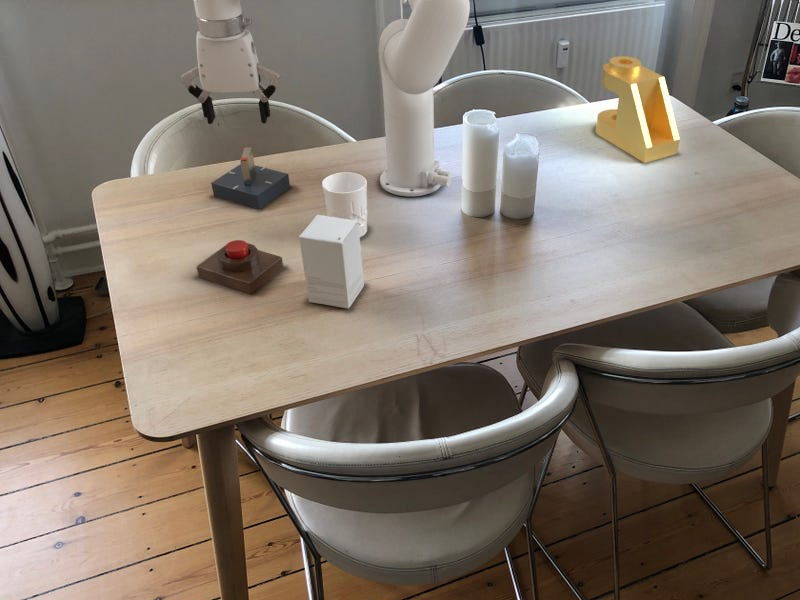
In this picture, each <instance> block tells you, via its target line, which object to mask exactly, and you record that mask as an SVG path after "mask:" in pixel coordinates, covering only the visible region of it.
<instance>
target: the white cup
mask: <svg viewBox="0 0 800 600" xmlns="http://www.w3.org/2000/svg"><path fill="white" fill-rule="evenodd" d="M321 188H322V193H323V199H324V200H323V201H324V207H325V210H326V211H325V212H326V216H329V217H336V218H343V219H349V220H356V221H358V226H359V236H360V238H362V237H364V236H365V235H366V234H367V232H368V182H367V178H366V177H365V176H363V175H362V174H359V173H356V172H351V171H344V172H336V173H332V174H330V175H328V176H326V177H325V178H323V180H322V181H321Z"/></svg>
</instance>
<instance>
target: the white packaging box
mask: <svg viewBox="0 0 800 600" xmlns="http://www.w3.org/2000/svg"><path fill="white" fill-rule="evenodd" d="M298 240H299V247H300V252H301V260H302V265H303V272H304V278H305V287H306V291H307V297H308V302H309V303H313V304H319V305H326V306H331V307H336V308H342V309H347V310H348V309H350V307H351V306H352V305H353V303H354V302H355V301H356V299H357V297H358V296H359V294H360V293H361V291H362V290H363V288H364V286H365V278H364V268H363V258H362V257H363V256H362V248H361V237H360V236H359V226H358V221H356V220H349V219H343V218H336V217H329V216H327V215H322V214H317V215H316V216H315V217H314V218H313V219H312V220H311V222H310V223H309V224H308V226H306V228H305V229H304V230H303V231H302V232H301V233H300V234H299V236H298Z"/></svg>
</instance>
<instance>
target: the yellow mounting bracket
mask: <svg viewBox="0 0 800 600" xmlns="http://www.w3.org/2000/svg"><path fill="white" fill-rule="evenodd" d="M600 82H601V85H602V87H604V88H605V89H607V90H609V92H612V93H614V94H616V95H617V96H618V102H617V109H616V108H615V109H614V108H612V109H606V110H602V111H600V112H599V113H597V118H596V124H595V125H596V127H595V132H596V134H597V135H598V136H600V137H601V138H603V140H606V141H608V142H609V143H610V144H612V145H614V146H616V147H617V148H619V149H620V150H622V151H624V152H626V153H627V154H629V155H631V156H632V157H634V158H636V159H637V160H638V161H640V162H642V163H643V164H646V163H650V162H654V161H656V160H660V159H664V158H667V157H670V156H675V155H677V154H678V150H679V144H680V140H681V139H680V134H679V131H678V127H677V123H676V120H675V114H674V110H673V105H672V103H671V99H670V94H669V90H668V86H667V83H666V79H665V76H663V75H662V74H659V73H657V72H656V71H654V70H652V69H649V68H647V67H646V66H643V65H642V61H641V60H640V59H638V58H636V57H633V56H624V55H622V56H621V55H619V56H614V57H612V58H610V59H609V62H607V63H605V64H604V65H603V67H602V74H601V81H600Z"/></svg>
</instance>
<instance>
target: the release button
mask: <svg viewBox="0 0 800 600" xmlns="http://www.w3.org/2000/svg"><path fill="white" fill-rule="evenodd" d="M247 243H248V242H246V241H245V240H242V239H235V240H231V241H229V242H227V243H226V244H225V245H226V246H225V245H224V246H225V248H226V253H227V257H228V258H230V259H242V258H245V257H247V256H248V255H249V250H248V245H247Z"/></svg>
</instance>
